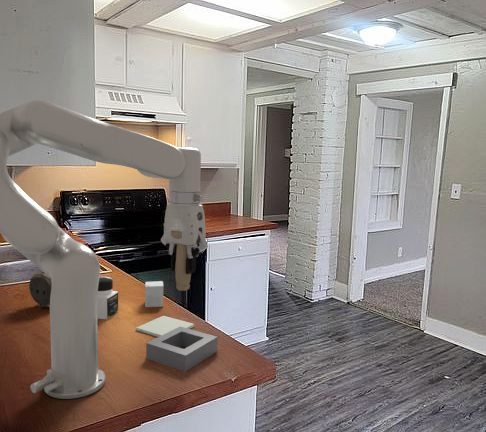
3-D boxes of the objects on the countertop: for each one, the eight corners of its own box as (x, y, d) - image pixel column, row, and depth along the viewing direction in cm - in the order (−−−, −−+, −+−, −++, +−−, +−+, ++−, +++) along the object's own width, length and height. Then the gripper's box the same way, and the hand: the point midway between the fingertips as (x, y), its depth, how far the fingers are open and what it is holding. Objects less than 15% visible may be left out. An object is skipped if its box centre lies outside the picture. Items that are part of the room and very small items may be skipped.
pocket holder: (185, 371, 106) (185, 355, 105) (146, 358, 112) (146, 343, 111) (217, 351, 117) (217, 336, 117) (179, 340, 123) (180, 326, 123)
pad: (168, 339, 123) (168, 337, 123) (135, 330, 129) (135, 327, 129) (194, 326, 134) (194, 323, 134) (163, 318, 140) (163, 315, 140)
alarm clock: (64, 308, 146) (63, 259, 143) (51, 313, 141) (49, 263, 139) (40, 302, 150) (38, 255, 148) (26, 307, 145) (24, 258, 143)
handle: (167, 288, 113) (168, 229, 111) (190, 285, 116) (192, 228, 114) (174, 293, 109) (175, 232, 107) (198, 290, 112) (199, 231, 110)
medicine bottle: (107, 320, 136) (107, 282, 135) (86, 317, 138) (85, 280, 136) (118, 312, 143) (118, 276, 142) (98, 310, 145) (97, 274, 143)
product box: (163, 307, 150) (163, 286, 149) (144, 307, 148) (144, 286, 147) (162, 301, 156) (163, 280, 155) (145, 302, 154) (145, 281, 153)
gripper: (221, 200, 108) (219, 273, 111) (168, 195, 117) (167, 263, 119) (203, 202, 102) (201, 280, 104) (148, 196, 110) (147, 269, 113)
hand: (183, 270), depth 112 cm, fingers closed on handle, 4 cm apart
